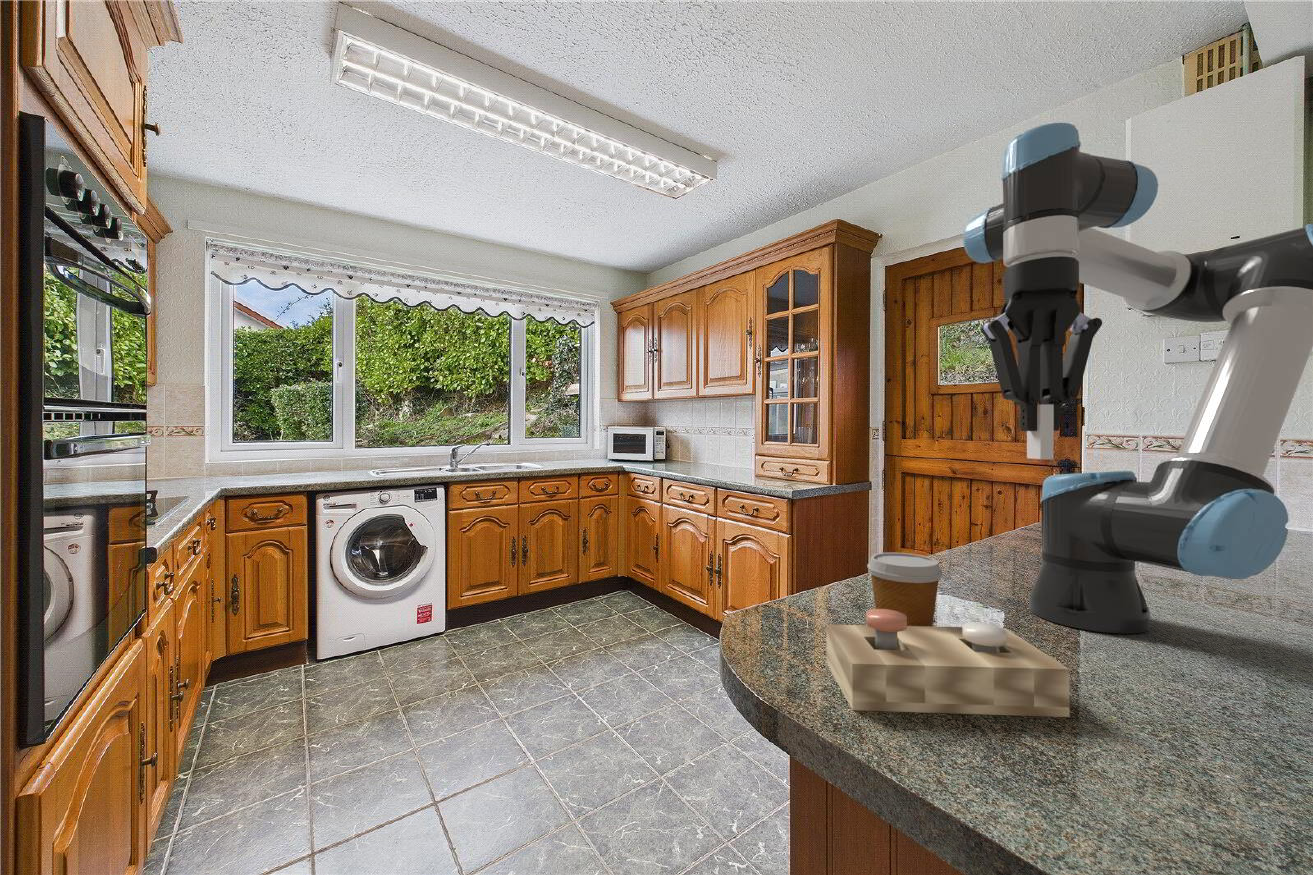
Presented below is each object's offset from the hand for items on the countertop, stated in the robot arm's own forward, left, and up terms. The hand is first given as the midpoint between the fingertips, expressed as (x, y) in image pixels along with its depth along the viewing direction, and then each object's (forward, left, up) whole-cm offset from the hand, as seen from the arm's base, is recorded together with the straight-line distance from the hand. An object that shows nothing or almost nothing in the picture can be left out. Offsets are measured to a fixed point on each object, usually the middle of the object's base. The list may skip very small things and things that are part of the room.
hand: (1039, 458), depth 66 cm
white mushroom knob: (+9, +4, -24) cm, 26 cm away
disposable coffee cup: (+13, -9, -27) cm, 31 cm away
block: (+14, +4, -26) cm, 30 cm away
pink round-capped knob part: (+20, +4, -23) cm, 30 cm away
